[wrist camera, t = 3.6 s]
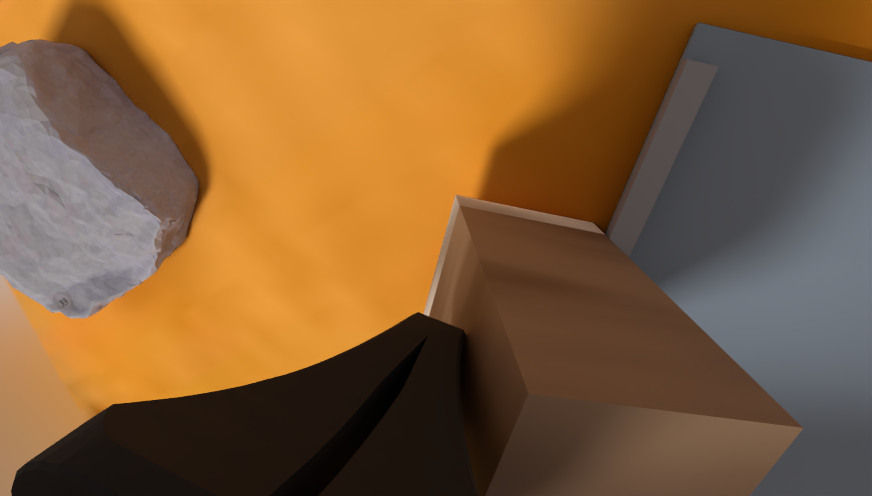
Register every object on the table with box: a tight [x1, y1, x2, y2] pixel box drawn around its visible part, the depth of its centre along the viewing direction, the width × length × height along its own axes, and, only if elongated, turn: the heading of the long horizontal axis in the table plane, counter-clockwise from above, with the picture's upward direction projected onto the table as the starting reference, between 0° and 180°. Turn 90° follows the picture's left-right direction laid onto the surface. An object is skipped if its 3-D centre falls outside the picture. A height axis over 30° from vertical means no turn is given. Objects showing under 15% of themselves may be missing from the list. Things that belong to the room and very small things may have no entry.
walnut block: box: [424, 195, 803, 496], centre depth 12 cm, size 5×5×9 cm
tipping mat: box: [605, 23, 872, 496], centre depth 15 cm, size 18×13×1 cm
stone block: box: [0, 40, 199, 318], centre depth 21 cm, size 12×5×10 cm
